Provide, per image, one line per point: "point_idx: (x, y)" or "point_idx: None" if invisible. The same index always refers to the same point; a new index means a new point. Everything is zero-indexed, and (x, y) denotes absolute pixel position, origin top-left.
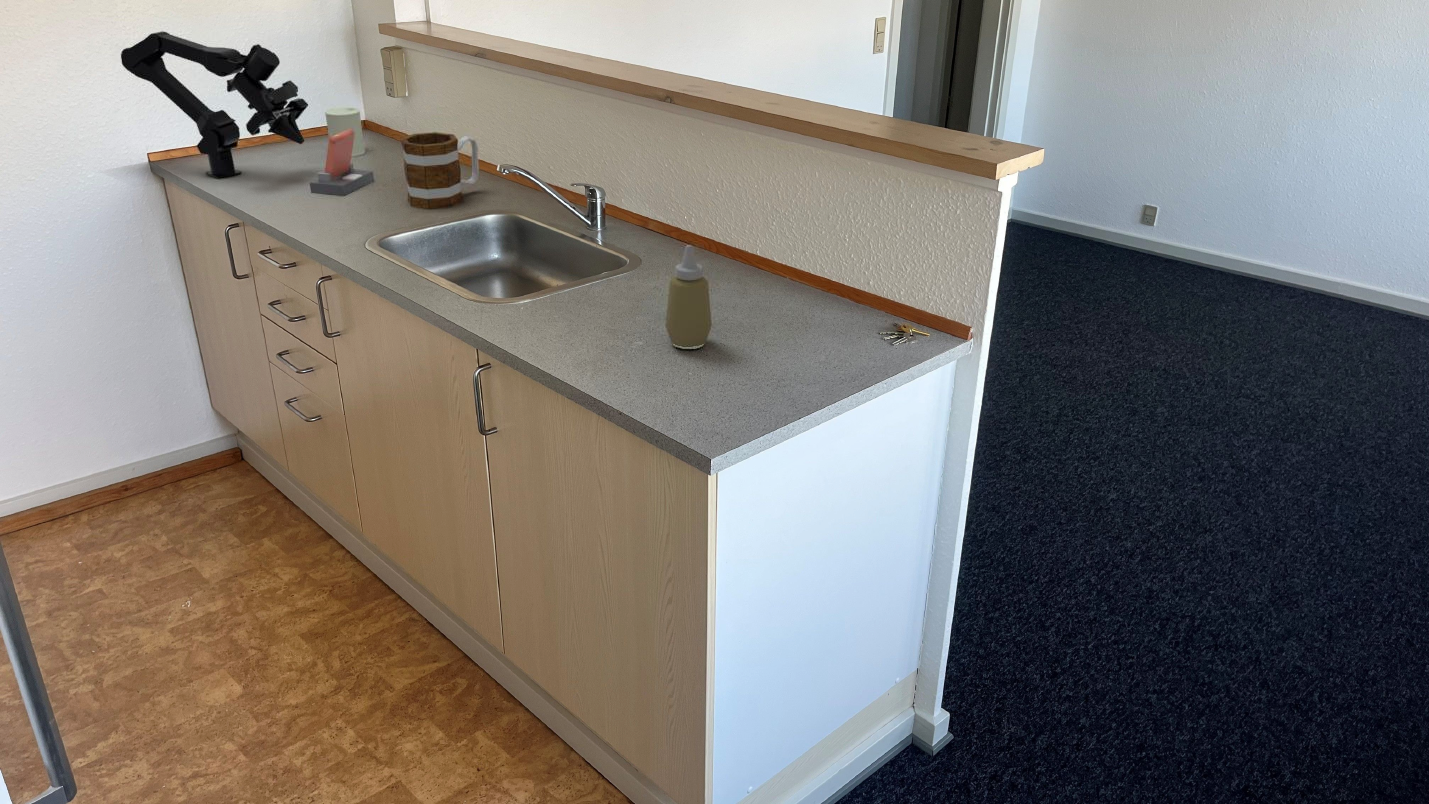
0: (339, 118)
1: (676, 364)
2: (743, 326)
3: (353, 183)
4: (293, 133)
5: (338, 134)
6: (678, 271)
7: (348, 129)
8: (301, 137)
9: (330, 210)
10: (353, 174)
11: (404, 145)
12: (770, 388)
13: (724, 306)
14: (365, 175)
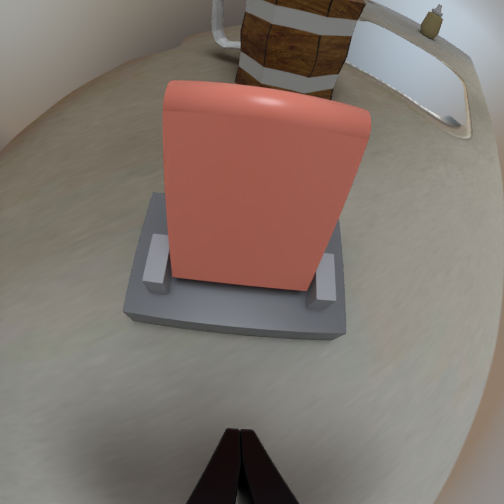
0: None
1: (441, 43)
2: (399, 20)
3: None
4: (289, 499)
5: (315, 97)
6: (442, 14)
7: (176, 88)
8: (235, 449)
9: (421, 217)
10: None
11: (364, 6)
12: None
13: (386, 17)
14: None
